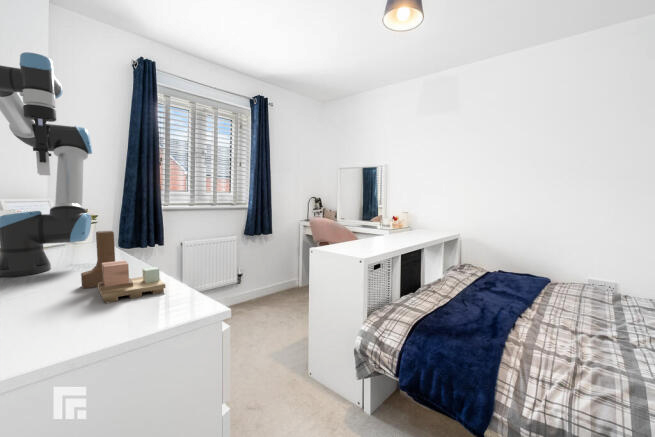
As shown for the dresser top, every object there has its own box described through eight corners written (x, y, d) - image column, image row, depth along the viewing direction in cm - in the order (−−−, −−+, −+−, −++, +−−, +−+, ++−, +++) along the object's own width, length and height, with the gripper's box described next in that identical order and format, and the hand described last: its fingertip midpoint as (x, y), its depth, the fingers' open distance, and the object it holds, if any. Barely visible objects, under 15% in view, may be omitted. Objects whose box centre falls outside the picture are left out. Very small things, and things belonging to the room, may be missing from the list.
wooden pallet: (98, 291, 96) (97, 283, 96) (154, 281, 106) (154, 274, 106) (103, 303, 85) (102, 294, 85) (165, 291, 96) (165, 284, 96)
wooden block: (82, 289, 98) (79, 233, 96) (81, 285, 101) (78, 232, 99) (116, 283, 104) (113, 231, 102) (114, 280, 107) (111, 230, 105)
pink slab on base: (98, 286, 93) (97, 263, 92) (129, 281, 98) (128, 259, 97) (100, 291, 88) (99, 267, 87) (133, 286, 93) (132, 263, 93)
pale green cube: (142, 280, 99) (142, 268, 99) (156, 278, 102) (156, 266, 102) (145, 283, 96) (145, 270, 96) (159, 280, 99) (159, 268, 99)
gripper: (25, 112, 102) (30, 175, 104) (19, 94, 84) (24, 172, 85) (55, 116, 107) (59, 176, 109) (55, 100, 89) (60, 173, 90)
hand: (44, 174), depth 97 cm, fingers open, 13 cm apart
